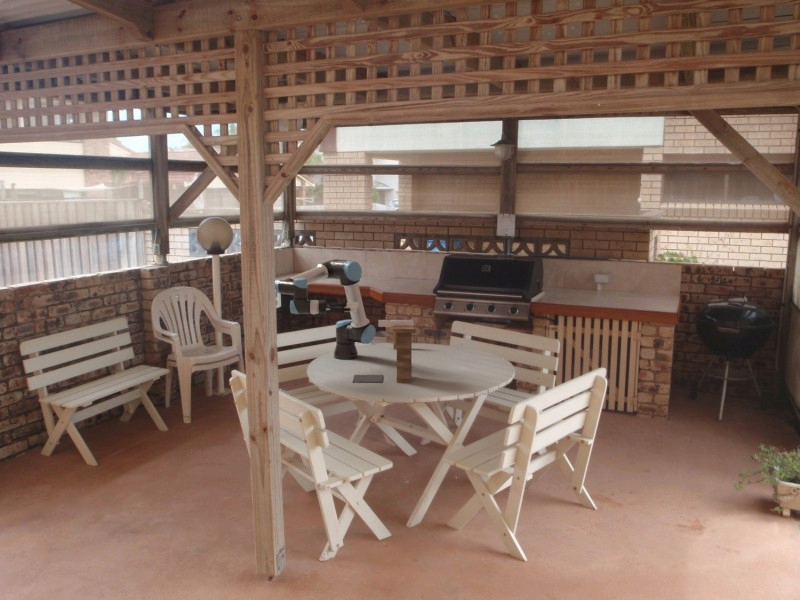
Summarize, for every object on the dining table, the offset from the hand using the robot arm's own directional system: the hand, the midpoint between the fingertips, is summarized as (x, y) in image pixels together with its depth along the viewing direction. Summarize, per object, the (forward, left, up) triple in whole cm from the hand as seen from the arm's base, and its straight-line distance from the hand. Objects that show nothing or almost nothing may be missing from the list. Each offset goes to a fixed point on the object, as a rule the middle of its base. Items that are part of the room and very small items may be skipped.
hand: (357, 307), depth 377 cm
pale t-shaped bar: (+2, +21, -10) cm, 23 cm away
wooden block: (-72, +24, -40) cm, 86 cm away
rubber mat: (+2, +6, -40) cm, 40 cm away
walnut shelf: (+2, +26, -40) cm, 47 cm away
